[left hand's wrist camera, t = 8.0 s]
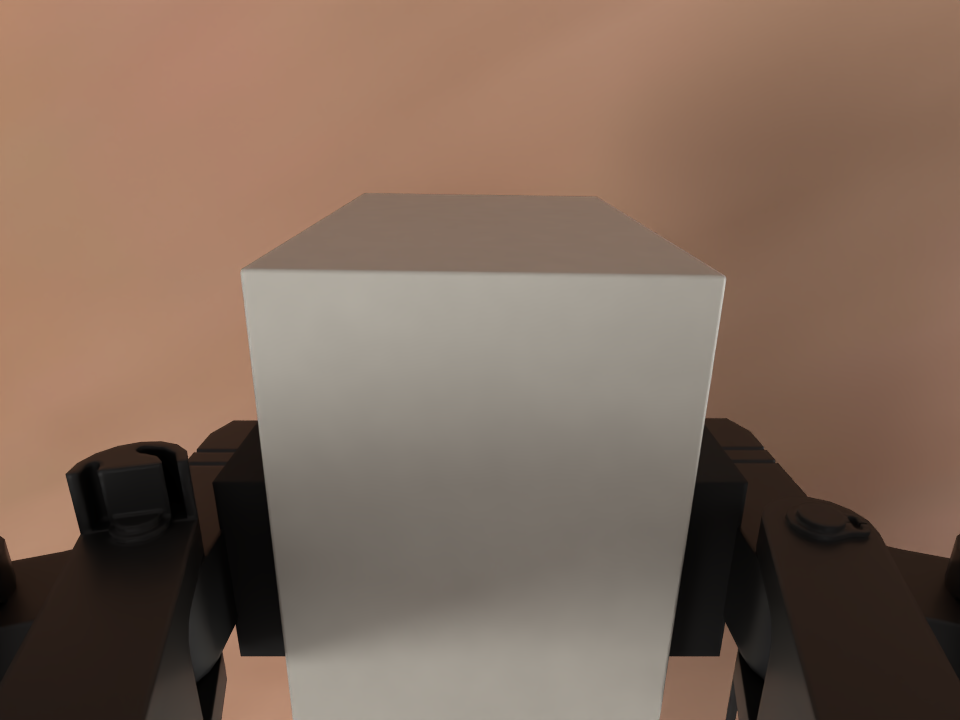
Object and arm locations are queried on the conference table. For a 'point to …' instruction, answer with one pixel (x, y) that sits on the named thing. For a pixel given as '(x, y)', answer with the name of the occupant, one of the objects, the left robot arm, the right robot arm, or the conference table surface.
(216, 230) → the conference table surface
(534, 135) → the conference table surface
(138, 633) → the left robot arm
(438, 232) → the bar
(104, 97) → the conference table surface
